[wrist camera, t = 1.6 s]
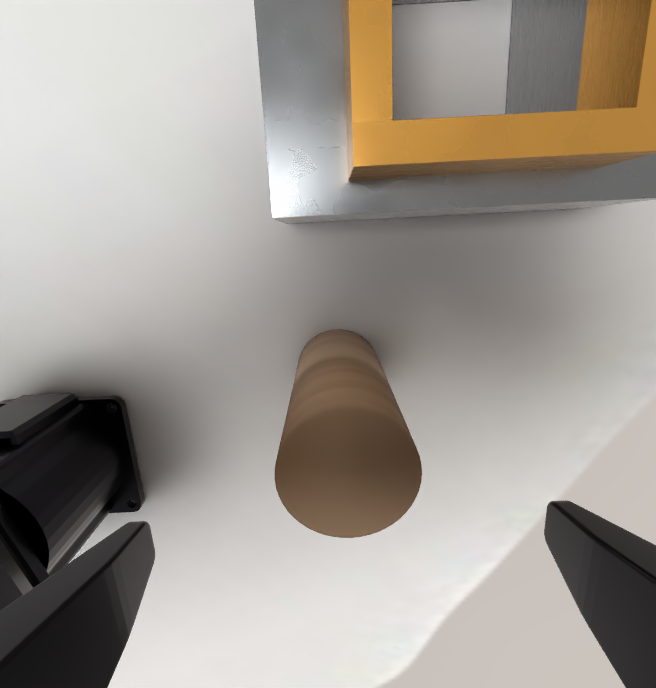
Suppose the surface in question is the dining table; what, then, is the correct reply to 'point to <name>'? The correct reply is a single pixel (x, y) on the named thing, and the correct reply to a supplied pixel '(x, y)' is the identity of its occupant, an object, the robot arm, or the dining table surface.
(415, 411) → the dining table surface
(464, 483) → the dining table surface
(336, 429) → the wooden plug
